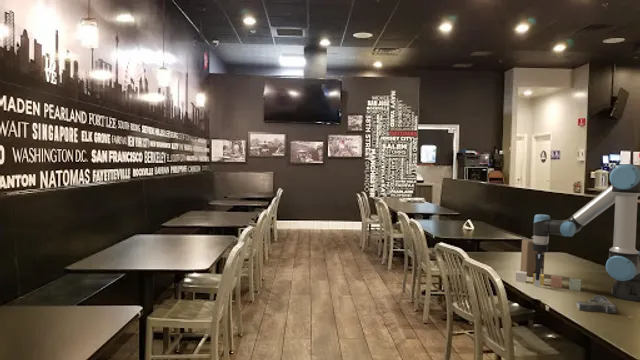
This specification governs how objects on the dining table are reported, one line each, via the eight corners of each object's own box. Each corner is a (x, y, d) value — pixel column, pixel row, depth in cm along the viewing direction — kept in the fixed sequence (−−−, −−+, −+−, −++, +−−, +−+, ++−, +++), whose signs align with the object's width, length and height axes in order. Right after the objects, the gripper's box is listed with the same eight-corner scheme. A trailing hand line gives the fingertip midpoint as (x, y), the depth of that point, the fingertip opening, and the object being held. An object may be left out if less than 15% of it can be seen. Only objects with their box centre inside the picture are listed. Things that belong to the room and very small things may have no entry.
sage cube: (580, 288, 235) (580, 279, 235) (580, 291, 231) (580, 281, 231) (569, 287, 238) (569, 277, 238) (569, 289, 233) (569, 279, 233)
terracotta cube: (561, 286, 239) (562, 276, 239) (561, 288, 235) (562, 278, 235) (551, 284, 242) (551, 275, 242) (550, 286, 237) (551, 277, 237)
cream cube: (526, 281, 248) (526, 272, 247) (525, 283, 243) (526, 273, 243) (516, 279, 250) (516, 270, 250) (515, 281, 246) (516, 272, 245)
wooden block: (537, 273, 268) (539, 239, 267) (544, 277, 258) (545, 242, 257) (519, 272, 269) (521, 238, 268) (525, 276, 259) (527, 241, 258)
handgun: (569, 299, 218) (605, 303, 213) (579, 312, 198) (619, 316, 193) (570, 291, 217) (606, 294, 213) (579, 303, 198) (619, 307, 193)
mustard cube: (543, 283, 244) (544, 274, 243) (543, 285, 239) (543, 276, 239) (533, 282, 246) (533, 273, 246) (532, 284, 242) (533, 274, 241)
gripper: (534, 239, 254) (531, 277, 255) (530, 246, 233) (528, 287, 234) (549, 241, 251) (546, 279, 252) (547, 247, 229) (544, 289, 230)
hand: (537, 283), depth 243 cm, fingers open, 13 cm apart
